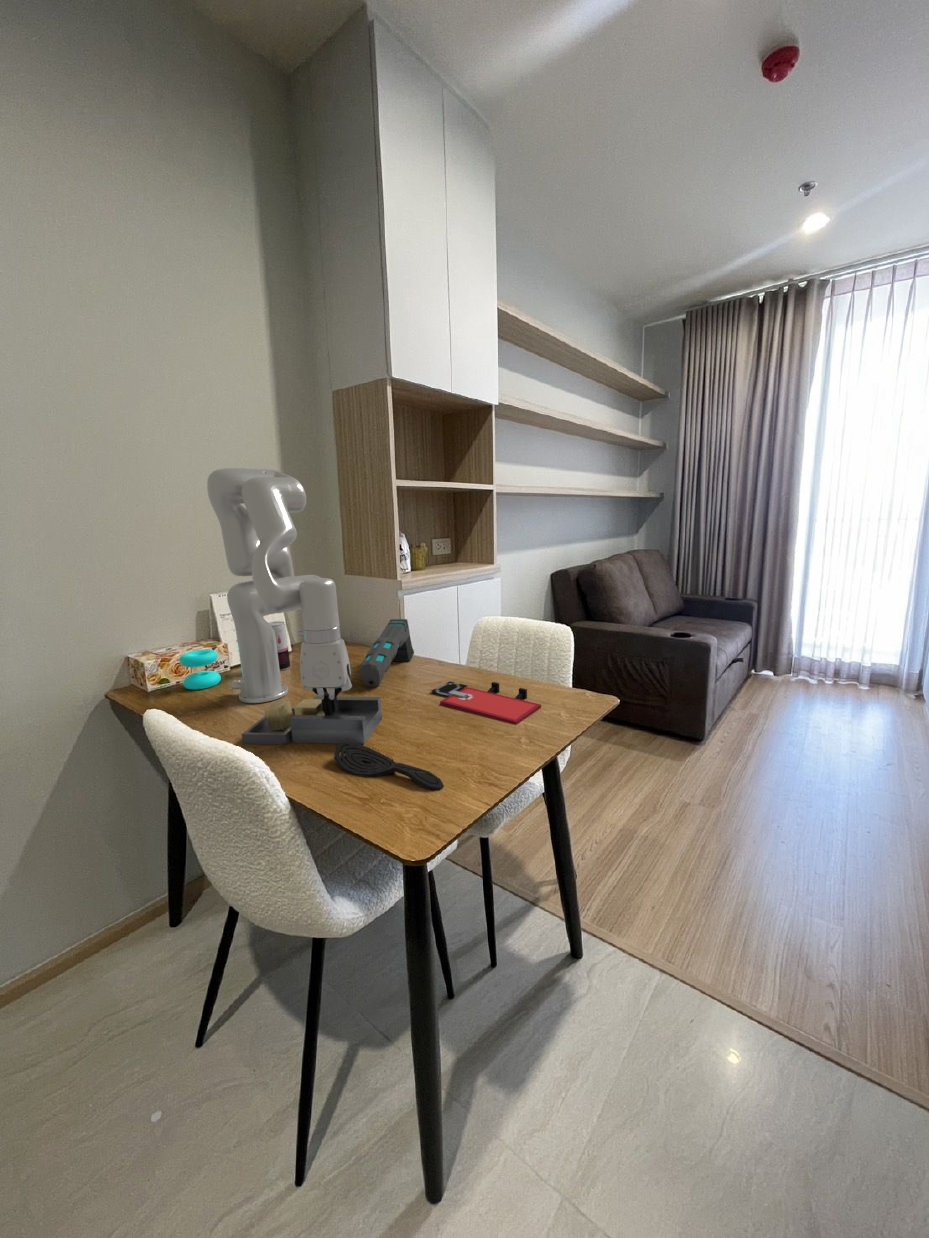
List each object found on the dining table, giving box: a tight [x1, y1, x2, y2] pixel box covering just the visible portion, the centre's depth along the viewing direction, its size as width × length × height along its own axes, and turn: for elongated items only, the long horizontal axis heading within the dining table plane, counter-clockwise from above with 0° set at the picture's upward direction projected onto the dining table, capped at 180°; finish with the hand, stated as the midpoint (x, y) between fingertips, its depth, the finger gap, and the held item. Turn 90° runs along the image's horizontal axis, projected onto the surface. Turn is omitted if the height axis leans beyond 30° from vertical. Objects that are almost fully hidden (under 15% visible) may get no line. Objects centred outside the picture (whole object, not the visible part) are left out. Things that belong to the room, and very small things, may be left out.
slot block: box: [290, 695, 383, 745], centre depth 111 cm, size 16×13×6 cm
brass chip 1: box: [263, 699, 293, 731], centre depth 113 cm, size 5×5×4 cm
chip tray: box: [241, 706, 295, 745], centre depth 113 cm, size 10×15×2 cm, turn 173°
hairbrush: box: [333, 738, 445, 791], centre depth 92 cm, size 8×4×25 cm
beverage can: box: [268, 621, 291, 672], centre depth 158 cm, size 6×6×15 cm
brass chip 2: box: [294, 698, 324, 715], centre depth 111 cm, size 5×5×4 cm
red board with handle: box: [430, 680, 542, 725], centre depth 125 cm, size 30×3×15 cm
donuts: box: [178, 649, 222, 691], centre depth 146 cm, size 10×10×10 cm
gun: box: [358, 618, 415, 688], centre depth 151 cm, size 7×29×15 cm, turn 168°
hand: (330, 714), depth 111 cm, fingers closed
